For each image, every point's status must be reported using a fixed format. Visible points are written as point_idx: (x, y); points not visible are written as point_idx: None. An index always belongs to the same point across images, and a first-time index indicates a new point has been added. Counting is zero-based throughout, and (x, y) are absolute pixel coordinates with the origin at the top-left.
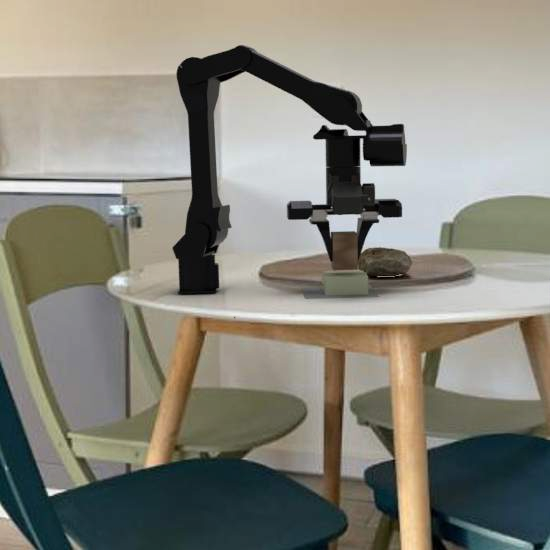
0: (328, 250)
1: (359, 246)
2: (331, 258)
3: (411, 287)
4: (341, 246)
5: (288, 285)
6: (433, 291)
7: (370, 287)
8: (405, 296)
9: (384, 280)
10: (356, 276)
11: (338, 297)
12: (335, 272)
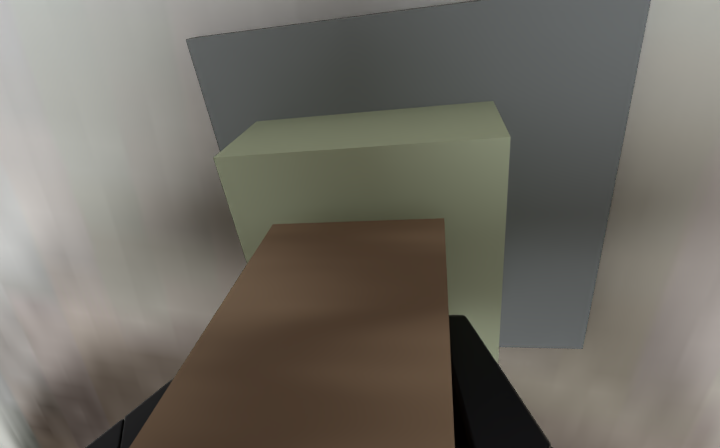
0: (492, 375)
1: None
2: (457, 324)
3: (131, 320)
4: (355, 353)
5: (610, 431)
6: (23, 229)
7: None
8: (90, 115)
9: None
10: (286, 153)
11: (421, 11)
12: None
